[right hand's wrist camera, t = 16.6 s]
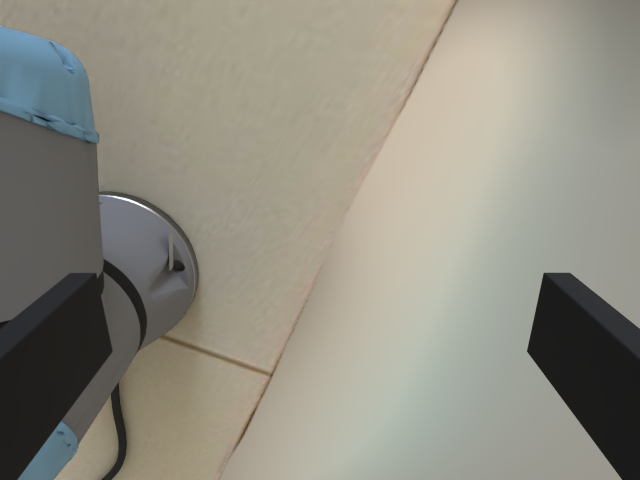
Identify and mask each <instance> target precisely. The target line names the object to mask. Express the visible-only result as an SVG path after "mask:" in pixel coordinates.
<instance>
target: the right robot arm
mask: <svg viewBox="0 0 640 480" xmlns="http://www.w3.org/2000/svg"><path fill="white" fill-rule="evenodd" d="M96 143H99V134H98V133H97V132H96V131H95V126H94V118H93V111H92V103H91V96H90V87H89V79H88V76H87V73H86V71H85V68H84V67H83V65H82V63H81V62H80V61H79V59H78V58H77V57H76V56H75V55H74V54H73V53H72V52H71V51H69V50H68V49H67V48H65V47H63V46H62V45H60V44H58V43H56V42H54V41H51V40H48V39H45V38H42V37H39V36H35V35H32V34H29V33H25V32H21V31H18V30H14V29H11V28H7V27H3V26H0V480H54V479H55V477H56V476H57V475H58V474H59V472H60V471H61V470H62V469H63V467H64V466H65V465H66V464H67V462H69V461H70V460H71V459H72V457H73V456H74V455H75V453H76V452H77V449H78V444H79V443H80V441H81V440H82V438H83V437H84V435H85V433H86V432H87V430H88V429H89V427H90V426H91V424H92V422H93V421H94V419H95V418H96V416H97V415H98V413H99V412H100V410H101V408H102V407H103V405H104V404H105V402H106V401H107V399H108V398H109V396H110V394H111V402H112V409H113V415H114V420H115V424H116V429H117V434H118V441H119V452H118V458H117V461H116V463H115V465H114V467H113V468H112V470H111V471H110V472H109V473H108V474H107V475H106V476H105V477H104V478H103V479H102V480H112V479H113V478H114V477H115V475H116V474H117V473H118V472H119V470H120V469H121V467H122V465H123V462H124V459H125V455H126V445H127V442H126V433H125V427H124V422H123V418H122V413H121V407H120V398H119V380H120V379H121V377H122V376H123V374H124V373H125V371H126V369H127V368H128V366H129V365H130V363H131V362H132V360H133V358H134V357H135V355H136V354H137V352H138V351H139V350H140V349H142V348H144V347H145V346H147V345H148V344H150V343H152V342H153V341H155V340H156V339H158V338H159V337H161V336H163V335H164V334H166V333H167V332H168V331H170V330H171V329H172V328H173V327H174V326H175V325H176V324H177V323H178V322H179V321H180V320H181V319H182V317H183V316H184V315H185V313H186V312H187V310H188V308H189V306H190V305H191V303H192V301H193V299H194V296H195V294H196V290H197V286H198V265H197V260H196V256H195V253H194V250H193V248H192V246H191V244H190V242H189V240H188V238H187V236H186V235H185V233H184V232H183V231H182V229H181V228H180V227H179V226H178V225H177V224H176V222H175V221H174V220H173V219H171V218H170V217H169V216H168V215H167V214H166V213H164V212H163V211H162V210H160V209H159V208H157V207H156V206H154V205H152V204H150V203H149V202H147V201H144V200H142V199H140V198H137V197H134V196H131V195H127V194H123V193H116V192H99V188H98V167H97V146H96ZM527 352H528V353H529V355H530V356H531V357H532V359H533V360H534V361H535V363H536V364H537V365H538V367H539V368H540V369H541V371H542V372H543V373H544V375H545V376H546V378H547V379H548V380H549V382H550V383H551V384H552V386H553V387H554V388H555V390H556V391H557V392H558V394H559V395H560V396H561V398H562V399H563V400H564V402H565V403H566V404H567V406H568V407H569V409H570V410H571V411H572V413H573V414H574V415H575V417H576V418H577V419H578V421H579V422H580V423H581V425H582V426H583V427H584V429H585V430H586V431H587V433H588V434H589V435H590V437H591V438H592V440H593V441H594V442H595V444H596V445H597V446H598V448H599V449H600V450H601V452H602V453H603V454H604V456H605V457H606V458H607V460H608V461H609V462H610V464H611V465H612V466H613V468H614V469H615V471H616V472H617V473H618V475H619V476H620V477H621V479H622V480H640V329H639V328H638V327H637V326H636V325H634V324H633V323H632V322H631V321H629V320H628V319H627V318H626V317H624V316H623V315H622V314H621V313H619V312H618V311H617V310H616V309H614V308H613V307H612V306H611V305H609V304H608V303H607V302H606V301H604V300H603V299H602V298H601V297H599V296H598V295H597V294H596V293H594V292H593V291H592V290H591V289H589V288H588V287H587V286H586V285H584V284H583V283H582V282H581V281H579V280H578V279H577V278H576V277H574V276H573V275H572V274H571V273H544V274H543V279H542V284H541V288H540V293H539V298H538V303H537V307H536V312H535V317H534V321H533V326H532V331H531V335H530V340H529V345H528V350H527Z"/></svg>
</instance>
